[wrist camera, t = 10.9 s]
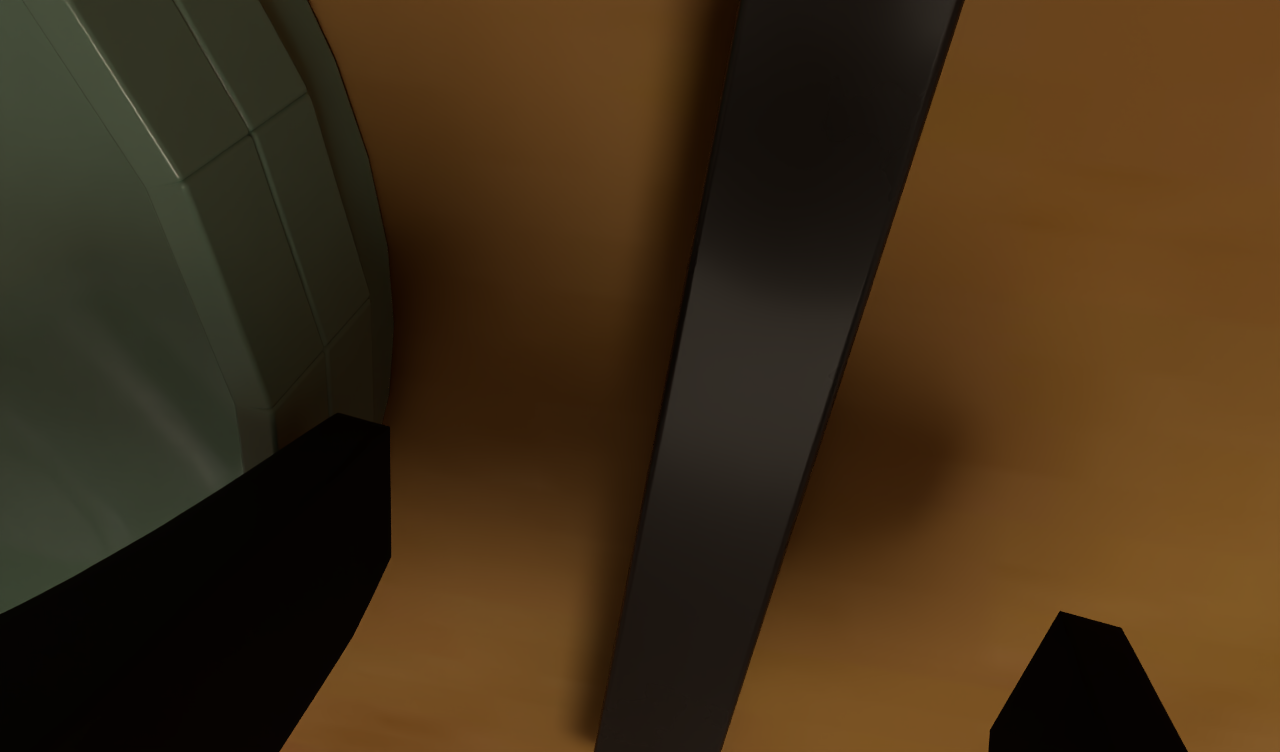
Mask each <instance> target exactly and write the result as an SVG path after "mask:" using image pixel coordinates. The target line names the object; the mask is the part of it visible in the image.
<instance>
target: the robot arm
mask: <svg viewBox="0 0 1280 752" xmlns="http://www.w3.org/2000/svg"><path fill="white" fill-rule="evenodd" d="M390 558H391V487H390V427H389V426H385V425H382V424H378V423H375V422H371V421H367V420H364V419H360V418H356V417H353V416H349V415H345V414H342V413H336V414H334V415H332V416H331V417H329V418H327V419H326V420H324V421H323V422H321V423H320V424H318V425H317V426H315V427H313V428H312V429H310V430H309V431H307V432H306V433H304V434H303V435H301V436H300V437H298V438H297V439H295V440H294V441H292V442H291V443H289V444H288V445H286V446H285V447H283V448H282V449H280V450H279V451H277V452H276V453H274V454H273V455H271V456H270V457H268V458H267V459H265V460H264V461H262V462H261V463H259V464H258V465H256V466H254V467H253V468H251V469H250V470H248V471H247V472H245V473H244V474H242V475H241V476H239V477H238V478H236V479H235V480H233V481H232V482H230V483H229V484H227V485H225V486H224V487H222V488H221V489H219V490H218V491H216V492H214V493H213V494H211V495H210V496H208V497H206V498H205V499H203V500H202V501H200V502H198V503H197V504H195V505H194V506H192V507H190V508H189V509H187V510H186V511H184V512H182V513H181V514H179V515H178V516H176V517H175V518H173V519H171V520H170V521H168V522H167V523H165V524H163V525H162V526H160V527H158V528H157V529H155V530H153V531H152V532H150V533H148V534H147V535H145V536H143V537H142V538H140V539H138V540H136V541H135V542H133V543H131V544H129V545H128V546H126V547H124V548H122V549H120V550H119V551H117V552H115V553H113V554H112V555H110V556H108V557H106V558H105V559H103V560H101V561H99V562H98V563H96V564H94V565H92V566H91V567H89V568H87V569H85V570H84V571H82V572H80V573H78V574H77V575H75V576H73V577H71V578H69V579H68V580H66V581H64V582H62V583H60V584H58V585H56V586H54V587H52V588H51V589H49V590H47V591H45V592H43V593H41V594H39V595H37V596H35V597H33V598H31V599H29V600H27V601H26V602H24V603H22V604H20V605H18V606H16V607H14V608H12V609H10V610H8V611H6V612H3V613H1V614H0V752H279V751H280V750H281V748H282V747H283V745H284V744H285V742H286V741H287V739H288V737H289V736H290V734H291V733H292V731H293V730H294V728H295V727H296V725H297V724H298V722H299V720H300V719H301V717H302V716H303V714H304V713H305V711H306V710H307V708H308V707H309V705H310V703H311V702H312V700H313V699H314V697H315V696H316V694H317V692H318V691H319V689H320V688H321V686H322V685H323V683H324V681H325V680H326V678H327V677H328V675H329V674H330V672H331V670H332V669H333V667H334V666H335V664H336V663H337V661H338V659H339V658H340V656H341V655H342V653H343V651H344V650H345V648H346V647H347V645H348V643H349V642H350V640H351V639H352V637H353V635H354V633H355V631H356V629H357V627H358V625H359V623H360V621H361V619H362V617H363V615H364V613H365V611H366V609H367V607H368V605H369V603H370V601H371V599H372V597H373V594H374V592H375V590H376V588H377V586H378V584H379V582H380V579H381V577H382V575H383V573H384V571H385V569H386V567H387V564H388V562H389V560H390ZM989 752H1188V751H1187V749H1186V747H1185V746H1184V744H1183V742H1182V740H1181V738H1180V736H1179V734H1178V733H1177V731H1176V729H1175V727H1174V725H1173V723H1172V722H1171V720H1170V718H1169V716H1168V714H1167V712H1166V710H1165V708H1164V706H1163V705H1162V703H1161V701H1160V699H1159V697H1158V695H1157V693H1156V691H1155V689H1154V688H1153V686H1152V684H1151V682H1150V680H1149V678H1148V676H1147V674H1146V672H1145V671H1144V669H1143V667H1142V665H1141V663H1140V661H1139V659H1138V657H1137V656H1136V654H1135V652H1134V650H1133V648H1132V646H1131V644H1130V643H1129V641H1128V639H1127V637H1126V635H1125V634H1124V632H1123V630H1122V628H1120V627H1116V626H1113V625H1109V624H1105V623H1102V622H1098V621H1095V620H1091V619H1087V618H1084V617H1080V616H1076V615H1073V614H1069V613H1065V612H1062V611H1060V612H1059V613H1058V615H1057V617H1056V618H1055V620H1054V622H1053V623H1052V625H1051V627H1050V629H1049V630H1048V632H1047V634H1046V635H1045V637H1044V639H1043V640H1042V642H1041V644H1040V646H1039V647H1038V649H1037V651H1036V652H1035V654H1034V656H1033V658H1032V659H1031V661H1030V663H1029V664H1028V666H1027V668H1026V669H1025V671H1024V673H1023V675H1022V676H1021V678H1020V680H1019V681H1018V683H1017V685H1016V687H1015V688H1014V690H1013V692H1012V693H1011V695H1010V697H1009V698H1008V700H1007V702H1006V704H1005V705H1004V707H1003V709H1002V710H1001V712H1000V714H999V716H998V717H997V719H996V721H995V722H994V724H993V726H992V727H991V729H990V738H989Z"/></svg>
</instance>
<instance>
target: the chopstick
mask: <svg viewBox="0 0 1280 752" xmlns="http://www.w3.org/2000/svg"><path fill="white" fill-rule="evenodd" d="M964 1H965V0H739V4H738V9H737V14H736V20H735V25H734V30H733V35H732V40H731V45H730V51H729V56H728V61H727V66H726V71H725V76H724V82H723V87H722V92H721V97H720V102H719V107H718V113H717V118H716V123H715V128H714V133H713V138H712V144H711V149H710V154H709V159H708V164H707V169H706V175H705V180H704V185H703V190H702V195H701V200H700V206H699V211H698V216H697V221H696V226H695V231H694V237H693V242H692V247H691V252H690V257H689V262H688V268H687V273H686V278H685V283H684V288H683V293H682V299H681V304H680V309H679V314H678V319H677V324H676V330H675V335H674V340H673V345H672V350H671V355H670V361H669V366H668V371H667V376H666V381H665V386H664V391H663V397H662V402H661V407H660V412H659V417H658V422H657V428H656V433H655V438H654V443H653V448H652V453H651V459H650V464H649V469H648V474H647V479H646V484H645V490H644V495H643V500H642V505H641V510H640V515H639V521H638V526H637V531H636V536H635V541H634V546H633V552H632V557H631V562H630V567H629V572H628V577H627V583H626V588H625V593H624V598H623V603H622V608H621V614H620V619H619V624H618V629H617V634H616V639H615V645H614V650H613V655H612V660H611V665H610V670H609V676H608V681H607V686H606V691H605V696H604V701H603V707H602V712H601V717H600V722H599V727H598V732H597V738H596V743H595V748H594V752H721V750H722V747H723V744H724V741H725V738H726V734H727V731H728V728H729V725H730V722H731V719H732V716H733V713H734V710H735V707H736V704H737V701H738V697H739V694H740V691H741V688H742V685H743V682H744V679H745V676H746V673H747V670H748V667H749V664H750V660H751V657H752V654H753V651H754V648H755V645H756V642H757V639H758V636H759V633H760V630H761V627H762V623H763V620H764V617H765V614H766V611H767V608H768V605H769V602H770V599H771V596H772V593H773V590H774V586H775V583H776V580H777V577H778V574H779V571H780V568H781V565H782V562H783V559H784V556H785V553H786V549H787V546H788V543H789V540H790V537H791V534H792V531H793V528H794V525H795V522H796V519H797V516H798V512H799V509H800V506H801V503H802V500H803V497H804V494H805V491H806V488H807V485H808V482H809V479H810V475H811V472H812V469H813V466H814V463H815V460H816V457H817V454H818V451H819V448H820V445H821V442H822V438H823V435H824V432H825V429H826V426H827V423H828V420H829V417H830V414H831V411H832V408H833V405H834V401H835V398H836V395H837V392H838V389H839V386H840V383H841V380H842V377H843V374H844V371H845V368H846V364H847V361H848V358H849V355H850V352H851V349H852V346H853V343H854V340H855V337H856V334H857V331H858V327H859V324H860V321H861V318H862V315H863V312H864V309H865V306H866V303H867V300H868V297H869V294H870V290H871V287H872V284H873V281H874V278H875V275H876V272H877V269H878V266H879V263H880V260H881V257H882V253H883V250H884V247H885V244H886V241H887V238H888V235H889V232H890V229H891V226H892V223H893V220H894V217H895V213H896V210H897V207H898V204H899V201H900V198H901V195H902V192H903V189H904V186H905V183H906V180H907V176H908V173H909V170H910V167H911V164H912V161H913V158H914V155H915V152H916V149H917V146H918V143H919V139H920V136H921V133H922V130H923V127H924V124H925V121H926V118H927V115H928V112H929V109H930V106H931V102H932V99H933V96H934V93H935V90H936V87H937V84H938V81H939V78H940V75H941V72H942V69H943V65H944V62H945V59H946V56H947V53H948V50H949V47H950V44H951V41H952V38H953V35H954V32H955V28H956V25H957V22H958V19H959V16H960V13H961V10H962V7H963V4H964Z"/></svg>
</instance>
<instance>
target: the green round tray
mask: <svg viewBox="0 0 1280 752" xmlns="http://www.w3.org/2000/svg"><path fill="white" fill-rule="evenodd" d="M393 332H394V317H393V305H392V293H391V281H390V268H389V256H388V245H387V241H386V236H385V231H384V227H383V222H382V217H381V213H380V208H379V203H378V199H377V194H376V190H375V185H374V180H373V176H372V171H371V166H370V162H369V157H368V155H367V152H366V149H365V146H364V143H363V140H362V137H361V134H360V131H359V128H358V125H357V122H356V119H355V116H354V113H353V111H352V108H351V105H350V102H349V99H348V96H347V93H346V90H345V87H344V84H343V81H342V78H341V75H340V72H339V69H338V67H337V64H336V61H335V58H334V56H333V54H332V52H331V50H330V48H329V45H328V43H327V41H326V39H325V37H324V35H323V33H322V30H321V28H320V26H319V24H318V22H317V20H316V17H315V15H314V13H313V11H312V9H311V7H310V4H309V2H308V0H0V614H1V613H3V612H6V611H8V610H10V609H12V608H14V607H16V606H18V605H20V604H22V603H24V602H26V601H27V600H29V599H31V598H33V597H35V596H37V595H39V594H41V593H43V592H45V591H47V590H49V589H51V588H52V587H54V586H56V585H58V584H60V583H62V582H64V581H66V580H68V579H69V578H71V577H73V576H75V575H77V574H78V573H80V572H82V571H84V570H85V569H87V568H89V567H91V566H92V565H94V564H96V563H98V562H99V561H101V560H103V559H105V558H106V557H108V556H110V555H112V554H113V553H115V552H117V551H119V550H120V549H122V548H124V547H126V546H128V545H129V544H131V543H133V542H135V541H136V540H138V539H140V538H142V537H143V536H145V535H147V534H148V533H150V532H152V531H153V530H155V529H157V528H158V527H160V526H162V525H163V524H165V523H167V522H168V521H170V520H171V519H173V518H175V517H176V516H178V515H179V514H181V513H182V512H184V511H186V510H187V509H189V508H190V507H192V506H194V505H195V504H197V503H198V502H200V501H202V500H203V499H205V498H206V497H208V496H210V495H211V494H213V493H214V492H216V491H218V490H219V489H221V488H222V487H224V486H225V485H227V484H229V483H230V482H232V481H233V480H235V479H236V478H238V477H239V476H241V475H242V474H244V473H245V472H247V471H248V470H250V469H251V468H253V467H254V466H256V465H258V464H259V463H261V462H262V461H264V460H265V459H267V458H268V457H270V456H271V455H273V454H274V453H276V452H277V451H279V450H280V449H282V448H283V447H285V446H286V445H288V444H289V443H291V442H292V441H294V440H295V439H297V438H298V437H300V436H301V435H303V434H304V433H306V432H307V431H309V430H310V429H312V428H313V427H315V426H317V425H318V424H320V423H321V422H323V421H324V420H326V419H327V418H329V417H331V416H332V415H334V414H336V413H342V414H345V415H349V416H353V417H356V418H360V419H364V420H367V421H371V422H375V423H378V424H382V422H383V417H384V413H385V409H386V405H387V401H388V397H389V390H390V376H391V361H392V346H393Z"/></svg>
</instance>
